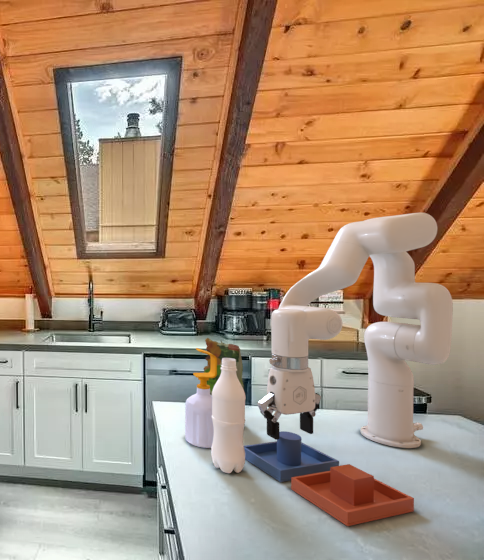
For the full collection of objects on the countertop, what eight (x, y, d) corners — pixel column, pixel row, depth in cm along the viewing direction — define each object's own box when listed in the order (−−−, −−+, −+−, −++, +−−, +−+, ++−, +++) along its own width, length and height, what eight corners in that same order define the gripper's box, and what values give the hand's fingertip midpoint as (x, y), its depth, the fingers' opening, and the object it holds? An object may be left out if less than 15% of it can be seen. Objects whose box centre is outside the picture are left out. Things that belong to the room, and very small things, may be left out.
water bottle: (248, 477, 84) (249, 363, 83) (213, 474, 85) (214, 361, 85) (241, 462, 91) (242, 356, 90) (209, 459, 92) (210, 355, 92)
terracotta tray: (351, 478, 84) (351, 466, 84) (414, 511, 72) (414, 498, 72) (291, 489, 79) (291, 477, 79) (347, 526, 68) (347, 512, 68)
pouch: (244, 434, 107) (244, 344, 107) (199, 426, 112) (200, 341, 112) (245, 420, 117) (245, 338, 117) (204, 414, 122) (204, 335, 122)
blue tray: (294, 448, 98) (294, 438, 98) (339, 471, 86) (339, 460, 86) (240, 456, 94) (241, 446, 94) (280, 482, 82) (280, 470, 82)
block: (348, 488, 79) (349, 463, 79) (373, 501, 74) (374, 476, 74) (329, 491, 78) (330, 467, 78) (354, 506, 73) (354, 479, 73)
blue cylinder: (288, 454, 94) (288, 430, 94) (306, 464, 89) (306, 438, 89) (271, 457, 92) (272, 432, 92) (289, 467, 87) (289, 441, 87)
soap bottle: (181, 433, 107) (182, 345, 107) (214, 434, 107) (215, 346, 106) (190, 448, 98) (191, 352, 98) (226, 449, 98) (227, 352, 97)
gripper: (271, 369, 84) (272, 446, 84) (333, 362, 89) (333, 436, 89) (247, 361, 91) (247, 433, 91) (305, 355, 96) (305, 423, 96)
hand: (290, 434), depth 90 cm, fingers open, 9 cm apart
